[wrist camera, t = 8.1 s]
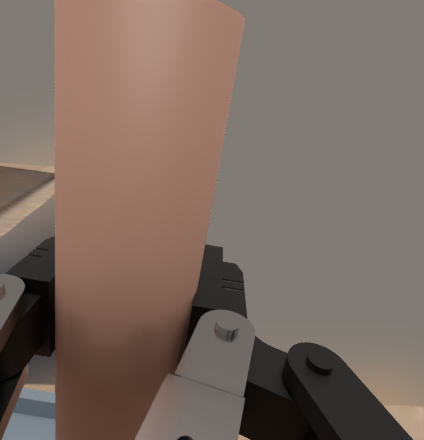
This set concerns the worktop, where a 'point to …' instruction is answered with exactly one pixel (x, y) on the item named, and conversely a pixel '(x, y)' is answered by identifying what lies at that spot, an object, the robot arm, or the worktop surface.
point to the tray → (32, 417)
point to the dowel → (132, 196)
